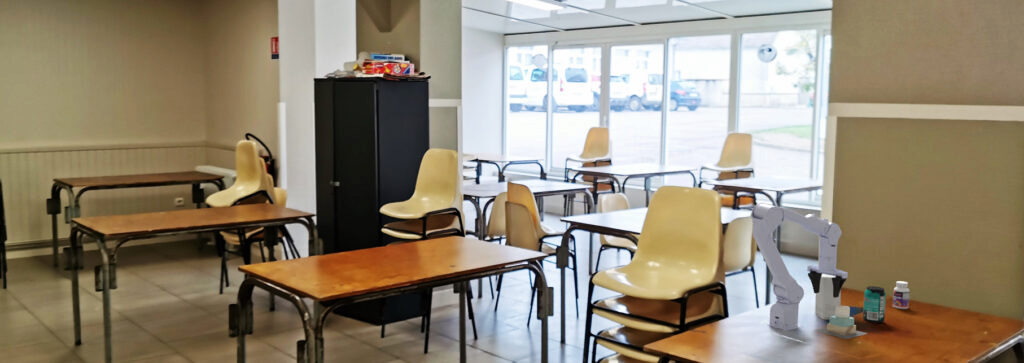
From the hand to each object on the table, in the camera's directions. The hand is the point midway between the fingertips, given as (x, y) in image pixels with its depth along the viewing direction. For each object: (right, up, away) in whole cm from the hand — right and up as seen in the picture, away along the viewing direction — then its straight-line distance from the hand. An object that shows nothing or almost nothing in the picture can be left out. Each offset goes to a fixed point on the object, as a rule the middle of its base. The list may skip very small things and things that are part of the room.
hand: (826, 295), depth 287 cm
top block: (+1, -9, -10) cm, 13 cm away
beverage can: (+19, -10, +6) cm, 23 cm away
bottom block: (+1, -11, -10) cm, 15 cm away
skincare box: (+4, -10, +10) cm, 15 cm away
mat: (+1, -12, -10) cm, 15 cm away
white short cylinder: (+1, -6, -11) cm, 12 cm away
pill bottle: (+39, -9, +27) cm, 48 cm away
